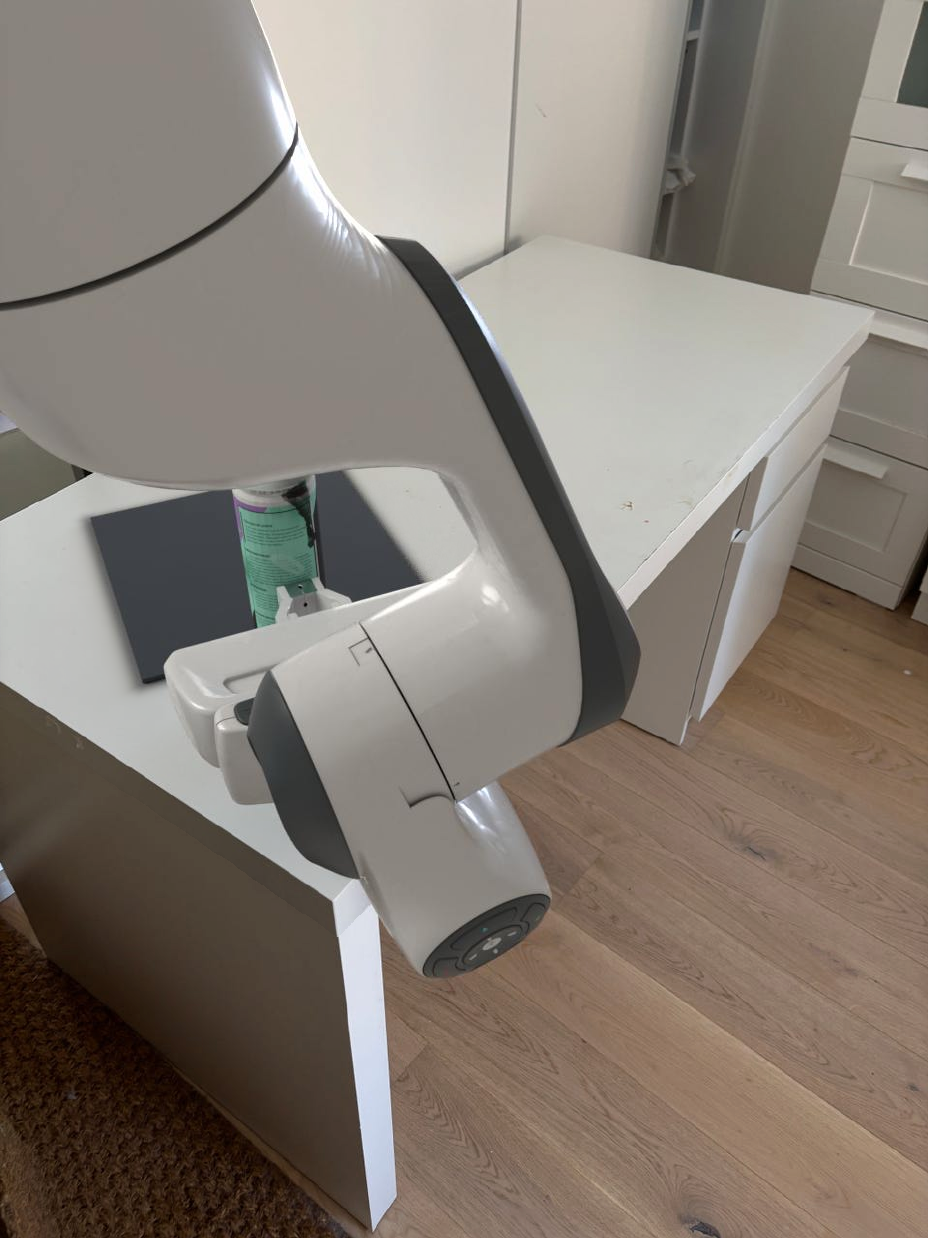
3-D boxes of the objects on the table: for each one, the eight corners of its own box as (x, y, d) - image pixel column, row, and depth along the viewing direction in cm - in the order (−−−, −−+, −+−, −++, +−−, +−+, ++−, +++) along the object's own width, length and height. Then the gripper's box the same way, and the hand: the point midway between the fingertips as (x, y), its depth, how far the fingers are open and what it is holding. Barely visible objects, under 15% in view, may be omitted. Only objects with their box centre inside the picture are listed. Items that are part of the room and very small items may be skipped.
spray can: (346, 660, 75) (325, 425, 63) (315, 705, 71) (286, 463, 59) (283, 645, 77) (250, 413, 65) (249, 688, 73) (207, 449, 60)
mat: (143, 683, 73) (142, 679, 73) (90, 520, 90) (89, 517, 89) (432, 602, 81) (432, 598, 81) (335, 466, 98) (335, 463, 97)
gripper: (530, 635, 58) (436, 516, 67) (189, 738, 51) (138, 590, 61) (524, 709, 62) (436, 588, 72) (207, 814, 55) (157, 664, 65)
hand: (297, 589), depth 66 cm, fingers closed, pressing on spray can
